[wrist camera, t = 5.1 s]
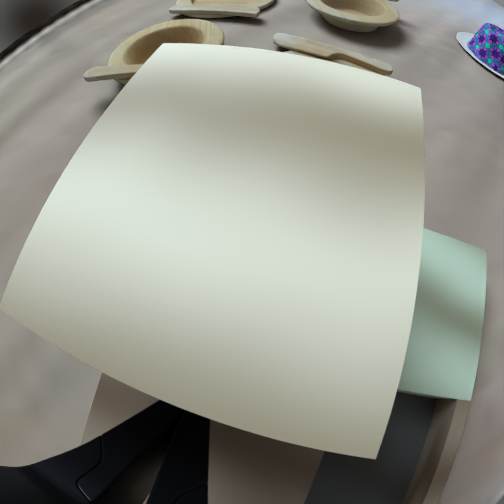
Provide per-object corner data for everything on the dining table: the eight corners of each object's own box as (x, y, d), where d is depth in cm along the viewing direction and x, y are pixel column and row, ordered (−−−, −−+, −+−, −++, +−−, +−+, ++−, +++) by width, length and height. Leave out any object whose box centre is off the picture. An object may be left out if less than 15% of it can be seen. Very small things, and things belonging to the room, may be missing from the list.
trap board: (338, 626, 8) (352, 668, 3) (75, 552, 11) (33, 580, 6) (466, 264, 18) (513, 229, 13) (196, 188, 21) (178, 132, 16)
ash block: (305, 408, 13) (376, 459, 4) (145, 354, 15) (-2, 308, 5) (350, 236, 17) (420, 88, 7) (208, 198, 18) (163, 43, 8)
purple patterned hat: (456, 56, 28) (468, 26, 23) (453, 27, 32) (462, 2, 27) (529, 101, 26) (545, 75, 21) (516, 63, 30) (527, 40, 25)
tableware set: (204, -15, 37) (201, -35, 34) (391, 9, 33) (396, -12, 29) (66, 132, 25) (47, 103, 21) (402, 194, 21) (423, 159, 17)
